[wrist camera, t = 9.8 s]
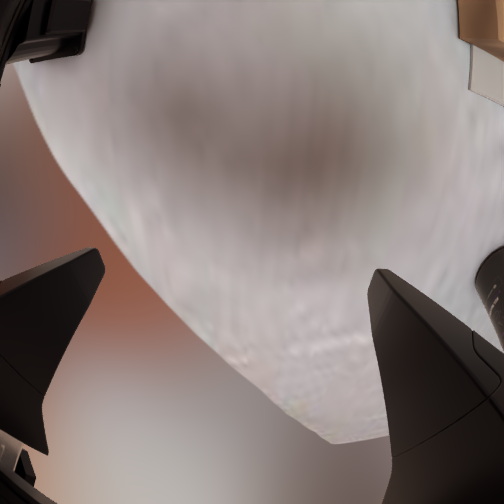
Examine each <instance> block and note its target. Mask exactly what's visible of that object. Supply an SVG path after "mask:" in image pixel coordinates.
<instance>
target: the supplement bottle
mask: <svg viewBox="0 0 504 504" xmlns="http://www.w3.org/2000/svg"><path fill="white" fill-rule="evenodd" d="M476 289H477V292H478V294H479V296H480V298H481V300H482V302H483V304H484V306H485V308H486V311H487V313H488V315H489V317H490V319H491V322H492V324H493V326H494V329H495V331H496V333H497V336H498V338H499V341H500V343H501V346H502V348H503V350H504V248H502V249H500V250H498V251H496V252H495V253H494V254H492V255H491V256H490V257H489V258H488V259H487V260H486V261H485V263H484V264H483V265H482V267H481V269H480V271H479V273H478V275H477V279H476Z"/></svg>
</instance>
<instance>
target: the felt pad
mask: <svg viewBox="0 0 504 504" xmlns="http://www.w3.org/2000/svg"><path fill="white" fill-rule="evenodd" d="M468 90H470V91H473V92H475V93H477V94H479V95H482V96H484V97H486V98H488V99H490V100H492V101H494V102H496V103H498V104H500V105H502V106H504V62H503V61H501V60H500V59H498V58H496V57H495V56H493V55H491V54H489V53H487V52H486V51H484V50H482V49H480V48H478V47H476V46H474V45H472V44H471V61H470V78H469V89H468Z"/></svg>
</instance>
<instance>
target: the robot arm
mask: <svg viewBox="0 0 504 504" xmlns="http://www.w3.org/2000/svg"><path fill="white" fill-rule="evenodd" d="M91 4H92V0H0V81H1V78H2V75H3V71H4V68H5V65H6V64H10V63H14V62H18V61H22V60H27V59H29V61H30V63H35V62H40V61H45V60H50V59H55V58H61V57H68V56H75V55H80V54H81V53H82V51H83V48H84V41H85V35H86V29H87V23H88V18H89V13H90V9H91ZM77 47H78V51H76V49H77ZM0 86H1V84H0ZM104 274H105V265H104V263H103V260H102V258H101V255H100V253H99V251H98V249H96V248H85V249H82V250H79V251H76V252H73V253H71V254H68V255H65V256H63V257H60V258H57V259H55V260H52V261H50V262H47V263H44V264H42V265H39V266H36V267H34V268H31V269H29V270H26V271H24V272H21V273H19V274H17V275H14V276H12V277H10V278H7V279H5V280H3V281H0V504H57V503H55V502H54V501H52V500H50V499H49V498H48V497H46V496H45V495H44V494H42V493H41V492H39V491H38V490H37V489H35V488H34V483H35V480H36V476H35V473H34V470H33V467H32V465H31V461H30V458H29V455H28V452H27V451H26V450H25V449H23V448H22V447H23V444H26V445H28V446H29V447H31V448H34V449H35V450H37V451H39V452H41V453H43V454H45V455H48V453H49V451H48V446H47V440H46V434H45V429H44V422H43V415H42V403H43V399H44V396H45V394H46V392H47V390H48V387H49V385H50V383H51V380H52V378H53V376H54V374H55V371H56V369H57V367H58V365H59V363H60V361H61V359H62V357H63V355H64V353H65V351H66V348H67V346H68V345H69V343H70V340H71V339H72V337H73V335H74V333H75V331H76V329H77V327H78V325H79V324H80V322H81V320H82V318H83V316H84V315H85V313H86V311H87V309H88V307H89V305H90V304H91V301H92V299H93V297H94V295H95V293H96V291H97V288H98V286H99V284H100V282H101V280H102V278H103V276H104ZM368 304H369V312H370V321H371V330H372V337H373V342H374V347H375V351H376V356H377V361H378V366H379V371H380V376H381V382H382V387H383V393H384V399H385V406H386V412H387V419H388V427H389V435H390V444H391V453H392V473H391V477H390V481H389V484H388V487H387V490H386V493H385V496H384V499H383V502H382V504H504V353H502V352H501V351H500V350H498V349H497V348H496V347H494V346H493V345H492V344H490V343H489V342H488V341H487V340H485V339H484V338H483V337H481V336H480V335H479V334H478V333H476V332H475V331H472V330H471V329H470V328H469V327H468V326H467V325H465V324H464V323H463V322H461V321H460V320H459V319H457V318H456V317H455V316H453V315H452V314H451V313H449V312H448V311H447V310H445V309H444V308H443V307H441V306H440V305H439V304H437V303H436V302H434V301H433V300H432V299H430V298H429V297H427V296H426V295H425V294H423V293H422V292H420V291H419V290H418V289H416V288H415V287H413V286H412V285H410V284H409V283H408V282H406V281H405V280H403V279H402V278H400V277H399V276H397V275H396V274H394V273H393V272H391V271H390V270H388V269H376V270H375V272H374V274H373V277H372V280H371V283H370V285H369V288H368Z"/></svg>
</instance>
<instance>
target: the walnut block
mask: <svg viewBox="0 0 504 504" xmlns="http://www.w3.org/2000/svg"><path fill="white" fill-rule="evenodd" d="M458 7H459V26H460V39H462V40H464V41H466V42H468V43H470V44H472V45H474V46H476V47H478V48H480V49H482V50H484V51H486V52H487V53H489V54H491V55H493V56H495V57H496V58H498V59H500V60H501V61H503V62H504V0H458Z"/></svg>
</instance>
